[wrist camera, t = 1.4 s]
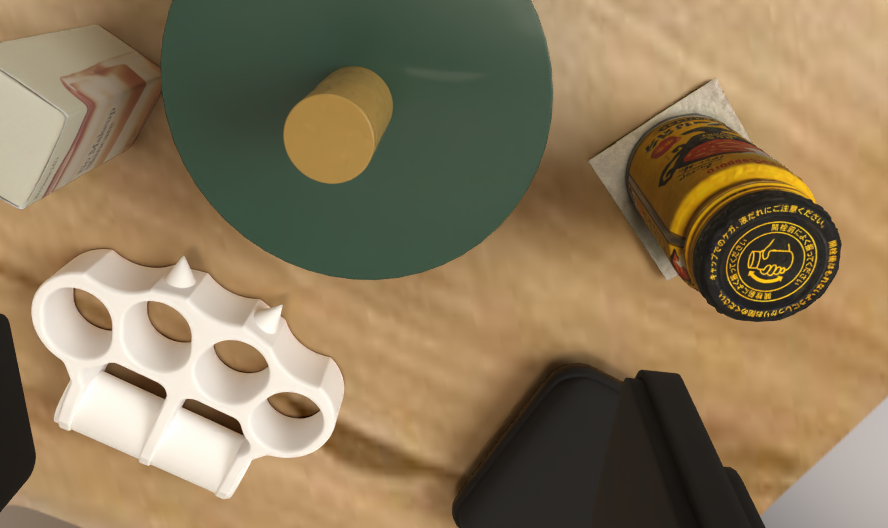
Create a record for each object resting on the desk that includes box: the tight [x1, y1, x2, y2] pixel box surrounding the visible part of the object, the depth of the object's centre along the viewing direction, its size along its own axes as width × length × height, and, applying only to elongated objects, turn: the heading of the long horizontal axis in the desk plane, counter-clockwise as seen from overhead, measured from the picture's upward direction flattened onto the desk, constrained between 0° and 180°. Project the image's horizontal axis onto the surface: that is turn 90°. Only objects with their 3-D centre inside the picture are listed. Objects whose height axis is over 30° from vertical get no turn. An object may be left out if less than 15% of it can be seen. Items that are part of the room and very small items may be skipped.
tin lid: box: [161, 0, 553, 280], centre depth 26 cm, size 16×16×7 cm
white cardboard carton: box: [0, 24, 162, 209], centre depth 31 cm, size 5×4×10 cm
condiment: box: [588, 78, 841, 322], centre depth 31 cm, size 7×8×12 cm
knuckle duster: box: [31, 249, 344, 499], centre depth 41 cm, size 3×18×15 cm
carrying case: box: [452, 364, 623, 528], centre depth 43 cm, size 11×3×15 cm
